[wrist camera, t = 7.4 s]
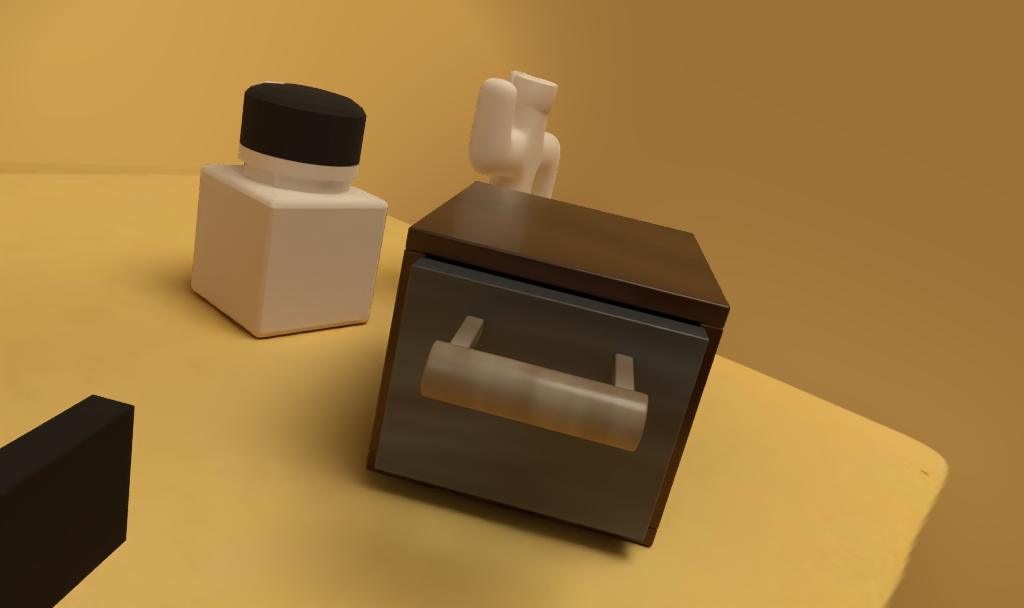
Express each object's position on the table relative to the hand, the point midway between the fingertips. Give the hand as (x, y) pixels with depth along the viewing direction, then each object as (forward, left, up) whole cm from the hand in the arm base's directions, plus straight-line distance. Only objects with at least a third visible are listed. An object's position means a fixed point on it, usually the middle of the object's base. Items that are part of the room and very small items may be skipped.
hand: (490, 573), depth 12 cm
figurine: (+20, +31, -8) cm, 38 cm away
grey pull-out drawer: (+10, +12, -7) cm, 17 cm away
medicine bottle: (+6, +30, -8) cm, 32 cm away
